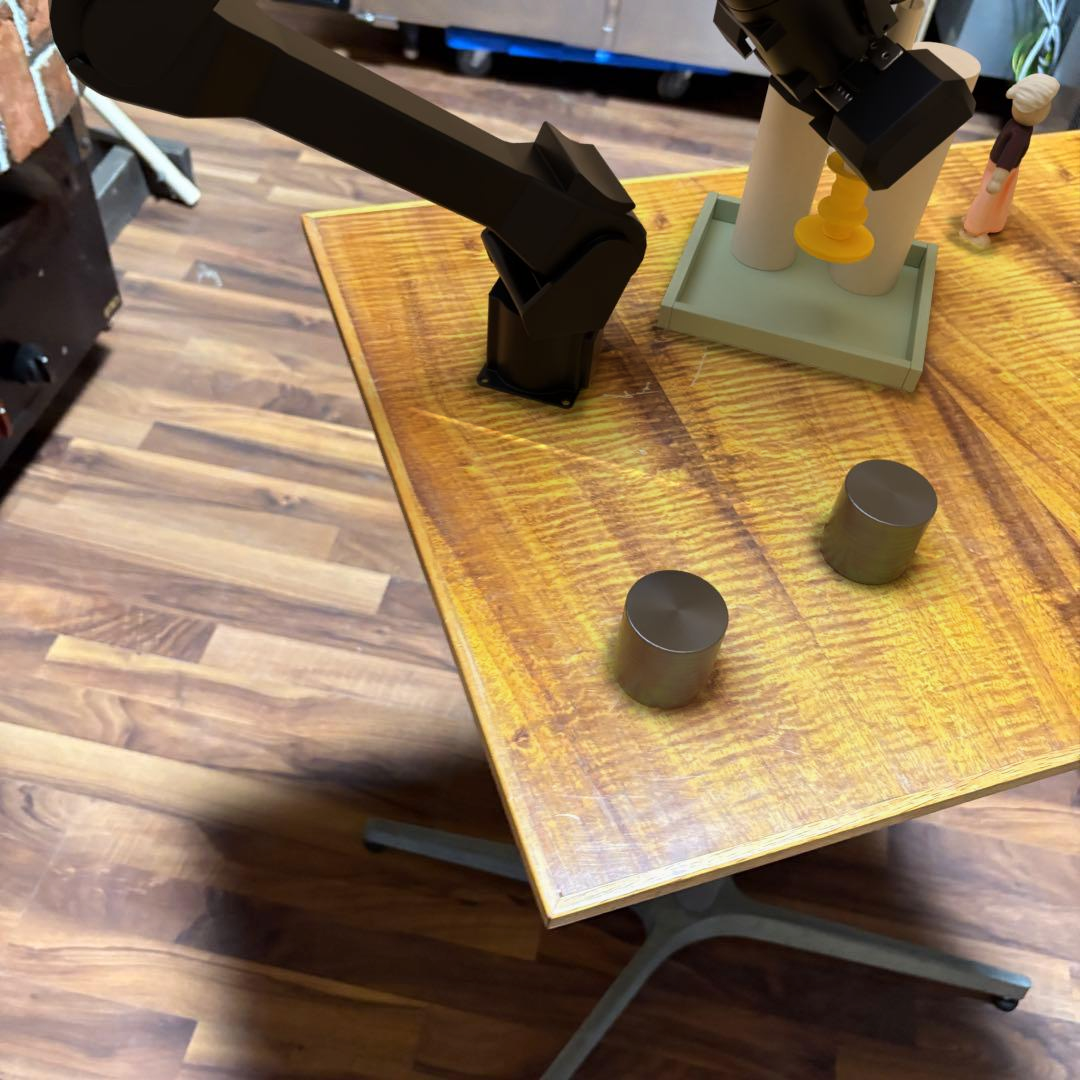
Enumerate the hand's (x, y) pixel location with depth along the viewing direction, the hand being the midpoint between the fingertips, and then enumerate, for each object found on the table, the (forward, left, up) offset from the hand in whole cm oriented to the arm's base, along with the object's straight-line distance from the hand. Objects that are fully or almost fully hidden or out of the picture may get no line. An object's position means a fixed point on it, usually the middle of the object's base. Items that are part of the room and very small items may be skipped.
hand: (886, 147), depth 63 cm
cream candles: (-2, +6, -13) cm, 14 cm away
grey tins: (0, -26, -13) cm, 29 cm away
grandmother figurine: (+10, +17, -14) cm, 24 cm away
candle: (-1, -1, -7) cm, 7 cm away
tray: (-2, +2, -13) cm, 14 cm away
